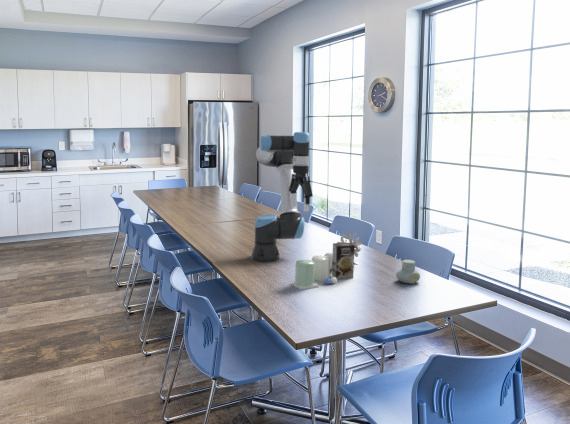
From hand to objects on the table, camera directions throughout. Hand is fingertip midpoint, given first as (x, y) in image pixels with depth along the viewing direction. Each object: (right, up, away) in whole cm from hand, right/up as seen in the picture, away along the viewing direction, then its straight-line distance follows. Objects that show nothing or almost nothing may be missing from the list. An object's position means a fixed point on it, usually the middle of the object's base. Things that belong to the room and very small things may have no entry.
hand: (300, 208), depth 252 cm
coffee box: (+20, -33, -1) cm, 39 cm away
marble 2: (+15, -34, -12) cm, 39 cm away
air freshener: (+50, -35, -8) cm, 61 cm away
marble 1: (+12, -35, -13) cm, 39 cm away
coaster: (+2, -35, -15) cm, 38 cm away
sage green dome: (+2, -34, -15) cm, 37 cm away
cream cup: (+10, -33, -4) cm, 35 cm away
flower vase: (+22, -30, +16) cm, 41 cm away
